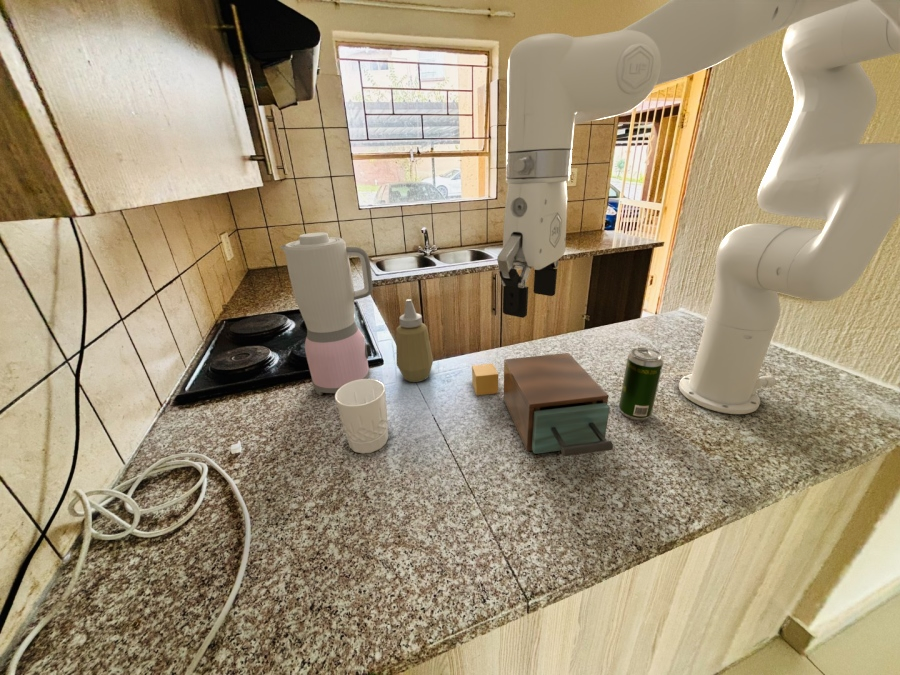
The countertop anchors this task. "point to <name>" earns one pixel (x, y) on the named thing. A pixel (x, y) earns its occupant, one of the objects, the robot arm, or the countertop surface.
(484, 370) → the mustard brown cube
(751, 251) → the robot arm
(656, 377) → the beer can
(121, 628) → the countertop surface
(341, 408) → the white cup
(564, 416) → the open teal drawer
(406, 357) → the squeeze bottle
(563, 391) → the wooden drawer cabinet
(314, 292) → the blender
